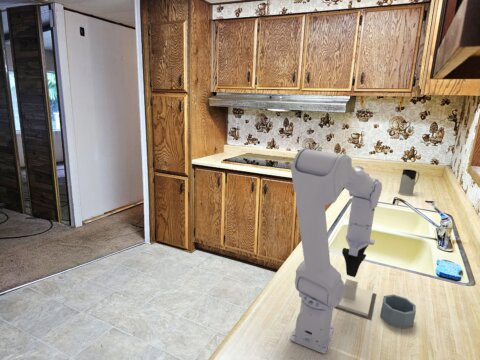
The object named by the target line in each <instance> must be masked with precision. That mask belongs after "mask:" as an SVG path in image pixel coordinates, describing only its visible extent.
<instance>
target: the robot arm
mask: <svg viewBox="0 0 480 360" xmlns="http://www.w3.org/2000/svg"><path fill="white" fill-rule="evenodd" d="M293 158H294V159H293V161H292V163H291V166H290V172H291V179H292V186H293V191H294V193H295V202H296V203H295V205H296V212H297V219H298V226H299V227H298V228H299V233H300V240H301V246H302V253H303V261H301V262H300V264H299V265H298V266H297V268H296V269H295V278H294V285H295V289H296V291H298V297H300V298H301V301H300V308H299V313H298V314H297V317H296V321H295V328H294V330H293V332H292V334H291V335H290V339H289V341H291V342H294V343H296V344H298V345H301V346H304V348H305V347H306V348H308V349H311V350H313V351H314V352H315V351H316V352H317V353H318V352H319V353H320V354H326V353H327V349H328V347H329V344H330V341H331V339H332V336H333V333H334V330H335V326H333V325H332V319H333V312H334V309H335V307H336V306H338V305H339V303H340V302H341V300H342V298H343V295H344V291H345V286H344V284H345V282H344V281H343V279H342V274H341V273H340V271H338V270H337V269H336V267H334V266H333V265H332V264H331V258H330V246H329V237H328V236H329V235H328V225H327V216H326V215H327V214H326V206H328V205H330V204H334V203H335V202H337V199H338V197H339V196H341V194H342V191H343V190H344V189H346V190H347V192H348V195H349V197H352V199H351V204H350V211H349V217H348V218H349V219H348V226H347V232H346V233H347V234H346V235H345V240H346V243H347V245H348V247H349V248H346V247H343V248H342V250H341V251H342V253H341V254H342V256H343V258H344V262H345V270H346V271H345V273H346V275H347V276H348V277H353V278H355V277H356V276H357V274H358V271H359V268H360V265H361V264H362V263H363V261H364V260H365V259H366V257H367V254H366V253H365V252H366V249H367V248H368V246H369V245H371V246H374V245H375V240H374V239H373V238H371V234H372V228H373V223H374V216H375V209H376V208H378V204H379V200H380V197H381V195H382V191H383V184H382V182H381V181H379V179H377V178H373V177H371V176H370V174H369V173H368V172H365V170H364V167H363V166H361V165H360V166H359V165H356V166H353V165H352V157H350V156H349V155H348V154H346V153H341V154H340V153H335V152H328V151H323V150H315V149H311V148H307V147H303V148H301V149H300V150H298V152H297V153H296V154H295V156H294V157H293Z"/></svg>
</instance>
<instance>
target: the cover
mask: <svg viewBox="0 0 480 360" xmlns="http://www.w3.org/2000/svg"><path fill="white" fill-rule="evenodd" d="M358 283H359V282H358V281H355V280H352V279H348V278H346V279H345V281H344V286H345V291H344V295H343V298H342V300H341V302H340V303H339V305H338V306H337V307H340V308H343V309H346V310H349V311H352V312H355V313H358V314H361V315H364V316H367V317H368V313H369V308H370V304H371V299H372V294H373V293H374V292H373V291H371V290H367V289H364V288H363V289H362V288H360V287H358V285H359V284H358Z"/></svg>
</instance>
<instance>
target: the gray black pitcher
mask: <svg viewBox="0 0 480 360" xmlns="http://www.w3.org/2000/svg"><path fill="white" fill-rule="evenodd" d="M400 177H401V178H400V183H399V188H398V189H399V190H398V191H397V194H398V195H401V196H406V197H414V189H415V186H416V184H417V183H418V181H419V179H420V172H419V171H417V170H415V169H409V168H408V169H407V168H405V169H403V170H402V174H401V176H400ZM416 177H417V179H416Z"/></svg>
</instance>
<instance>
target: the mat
mask: <svg viewBox="0 0 480 360" xmlns="http://www.w3.org/2000/svg"><path fill="white" fill-rule="evenodd" d="M376 299H377V293H375V292H373V294H372V299H371V304H370V308H369V313H368V317H367V316H364V315H361V314H358V313H355V312H352V311H349V310H346V309H343V308H340V307H337V306H336V307H335V308H334V309H336V310H338V311H342V312H344V313H347V314H351V315H353V316H357V317H360V318H362V319H364V320H365V319H366V320H369V321H372V319H373V313H374V309H375V304H376Z"/></svg>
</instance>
